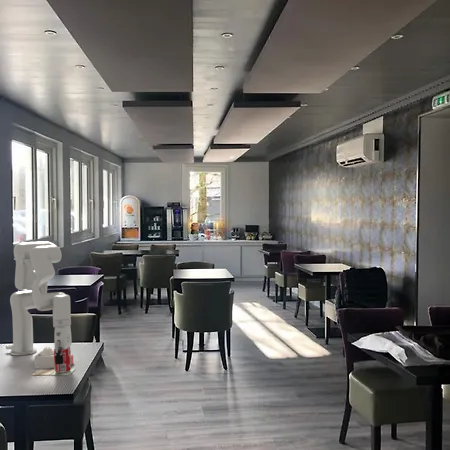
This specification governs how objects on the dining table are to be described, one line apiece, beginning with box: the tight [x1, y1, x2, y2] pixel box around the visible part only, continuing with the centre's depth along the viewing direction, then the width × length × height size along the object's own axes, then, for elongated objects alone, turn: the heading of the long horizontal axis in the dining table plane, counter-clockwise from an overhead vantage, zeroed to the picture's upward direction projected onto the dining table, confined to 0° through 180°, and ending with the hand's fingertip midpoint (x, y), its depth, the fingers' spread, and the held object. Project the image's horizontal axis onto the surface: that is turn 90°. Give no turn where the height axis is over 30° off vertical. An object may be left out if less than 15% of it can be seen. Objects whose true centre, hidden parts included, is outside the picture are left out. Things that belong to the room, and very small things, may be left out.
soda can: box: [53, 346, 72, 373], centre depth 238 cm, size 7×7×12 cm
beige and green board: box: [31, 368, 76, 377], centre depth 238 cm, size 16×8×1 cm, turn 89°
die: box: [71, 354, 74, 366], centre depth 251 cm, size 4×4×4 cm
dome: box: [39, 346, 54, 356], centre depth 250 cm, size 6×6×5 cm
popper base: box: [34, 350, 55, 369], centre depth 250 cm, size 9×9×6 cm
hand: (62, 361), depth 238 cm, fingers open, 9 cm apart
